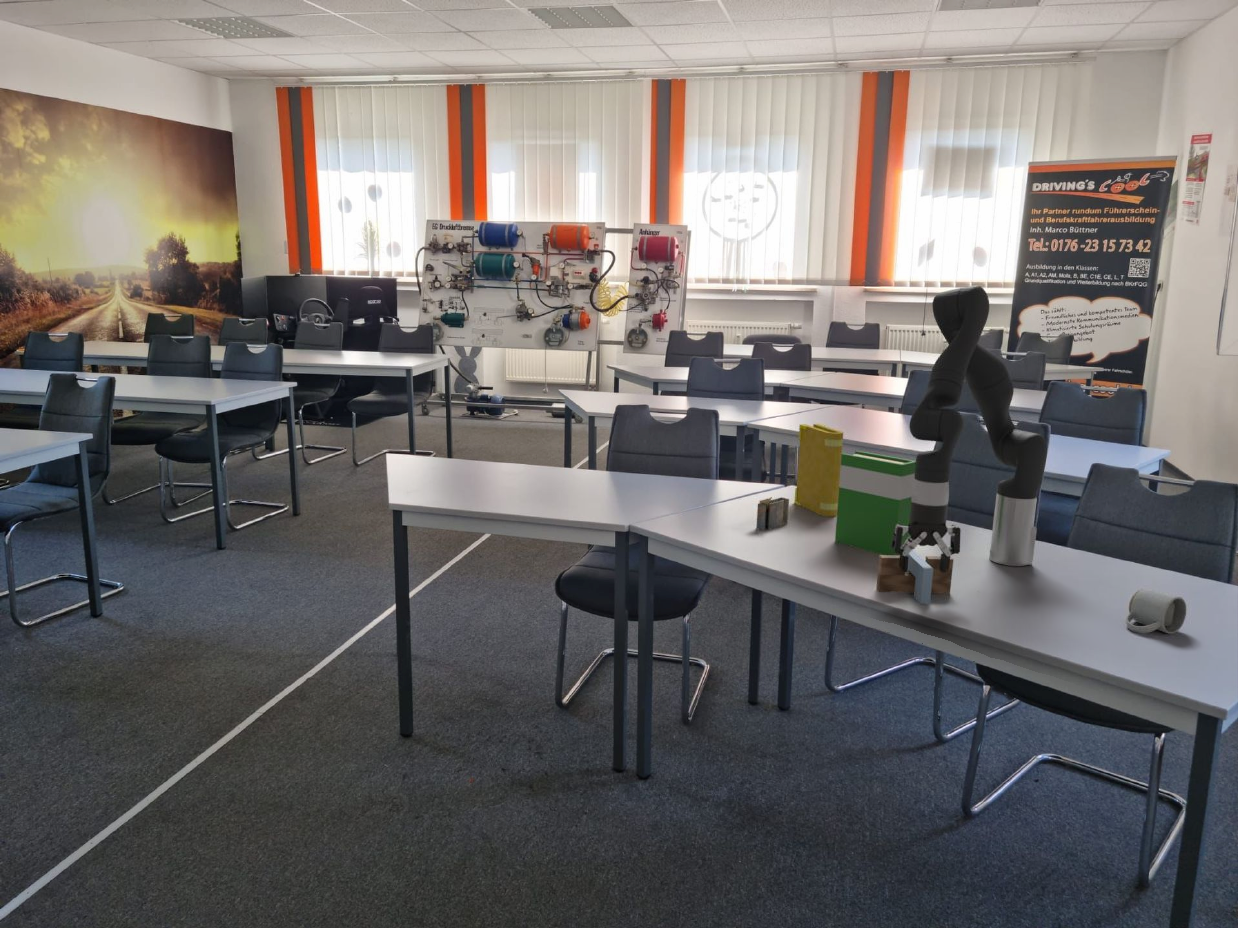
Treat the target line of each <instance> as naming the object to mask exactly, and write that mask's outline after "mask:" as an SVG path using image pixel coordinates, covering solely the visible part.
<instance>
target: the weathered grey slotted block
mask: <svg viewBox="0 0 1238 928" xmlns="http://www.w3.org/2000/svg"><path fill="white" fill-rule="evenodd" d="M758 502H759V503H757V511H756V513H757V514H756V529H757V530H759V531H760V530H761V531H765V530H766V527H767V530H769V529H773V528H777V527H781V526H784V525H788V521H789V507H790V506H789V505H790V504H789V503H790V499H789V498H786V497H783V496H781V497H778V498H777V497H776V498H774V499H773V497H772V496H771V497H769V498H765V499H761V500H759V501H758Z"/></svg>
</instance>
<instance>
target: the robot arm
mask: <svg viewBox="0 0 1238 928" xmlns="http://www.w3.org/2000/svg"><path fill="white" fill-rule="evenodd" d="M932 313H933V316H934V321H935V323H936V324H937V326H938V328H939V331H940V332H941V334H942V336H943V337H944V339H945V340H946V343H947V344H948V346H947V347H946V348H945V349H944V350H943V351H942V353H940V354H939V355H938V358H937V359H936V360H935V362H934V364H933V366H932V368H931V372H930V375H929V380H928V383H927V388H926V391H925V393H924V395H923V396H922V399H921V400H920V402H919V403H918V405H917V406H916V408H914V411H913V412H912V415H911V417H910V420H909V431H910V433H911V436H912V437H913V438H914V439H915V440H918V441H919V440H920V441H929V442H938V443H942V445H941V446H940V448H938V449H934V450H926V451H925V450H924V451H920V452H919V453H918V454H917V455H916V457H915V461H916V465H915V477H914V483H913V488H912V498H911V510H910V522H909V525H908V526H900V525H899V524H896V525H895V526H894V531H893V538H892V545H891V549H892V550H893V551H894V552H895V553H898V554H900V557H899V567H900V568H901V570H902V571H903V572H907V571H908V559H909V556H908V554H909V553H910V552H911V550H915V549H916V548H917V546H920V547H925V546H930V547H935V546H937V547H938V548H939V549H940V551H941V552H942V553H941V554H940V556H941V559H940V571H941V572H946V570H948V569H949V564H950V557H951V556H952V555H955V554H957V555H959V554H960V552H961V528H960V527H959V526H958V525H956V524H955V523H954V524H951V525H950V526H947V518H948V505H949V500H950V497H949V496H950V482H949V481H950V472H951V464H952V459H953V455H954V451H955V448H956V446H957V443H958V441H959V439H960V436H961V434H962V431H963V428H964V419H963V416H962V413H960V411H958V410H955V409H951V408H950V407H954V406H956V405H957V404H958V403H959V401H960V399H961V395H962V391H963V386H964V381H966V384H967V387H968V389H969V391H970V394H971V396H972V398H973V399H974V401H975V404H976V405H977V408H978V410H979V413H980V415H981V417H982V420H983V423H984V426H985V429H986V431H987V434H988V438H989V441H990V445H991V447H992V451H993V453H994V456H995V458H996V459H997V460H998V461H999V462H1000V463H1001V464H1003V465H1004V466H1008V467H1012V468H1016V469H1015V472H1014V473H1015V474H1014V476H1013V477H1012V478H1010V479H1002V480H1001V481H999V482H998V483H997V487H996V498H995V505H994V506H995V507H994V513H993V521H992V522H993V523H992V532H991V540H990V549H989V560H990V561H992V562H994V563H997V564H1000V565H1003V566H1008V567H1009V566H1010V567H1024V566H1027V565H1028V566H1029V565H1033V560H1034V553H1035V546H1036V537H1037V529H1038V528H1037V527H1036V526H1035V515H1036V510H1037V509H1036V508H1037V507H1036V506H1037V501H1038V499H1037V498H1038V494H1039V493H1038V492H1039V490H1040V488H1041V485H1042V483H1043V478H1044V472H1045V467H1046V463H1047V456H1048V444H1047V441H1046V439H1045V438H1044V436H1043V435H1042V434H1039V433H1037V432H1031V431H1026V430H1020V429H1018V428H1017V427H1016V426H1015V424H1014V422H1013V420H1012V418H1011V415H1010V411H1009V410H1010V406H1011V403H1012V400H1013V397H1014V392H1015V391H1014V389H1015V387H1014V383H1013V379H1012V378H1011V376H1010V374H1009V371H1008V368H1007V366H1006V364H1005V362H1004V361H1003V360H1002V359H1001V358H1000V357H998V356H997V355H996V354H995V353H993V352H992V351H990V350H989V349H987V348H986V347H985V346H984V345H981V344H980V343H979V340H980V338H981V336H982V334H983V331H984V328H985V326H986V325H987V320H988V318H989V313H990V300H989V296H988V294H987V292H986V290H985V289H984V288H983V287H982V286H980V285H968V286H964V287H959V288H954V289H950V290H946V291H942V292H939V293H937V294H936V295H935V296H934V298H933V300H932ZM948 408H950V409H948ZM907 531H908V533H909V534H910V536H909V537H908V538H907V539H906V541H905V543H904V544H903V545H902V547H901V541H902V536H904V535H905V533H906V532H907ZM947 533H948V535H949V536H950V540H949V541H950V544H949V547H948V545H947V544H946V543H945V541H944V540H943V538H944V537H945V536H946V534H947Z"/></svg>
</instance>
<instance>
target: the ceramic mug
mask: <svg viewBox="0 0 1238 928" xmlns="http://www.w3.org/2000/svg"><path fill="white" fill-rule="evenodd" d="M1128 604H1129V605H1128V613H1129V614H1127V615H1126V619H1125V622H1126V626H1127V628H1128V629H1129V630H1130V631H1132V632H1134V633H1139V634H1147V633H1151V632H1154V631H1156V630H1157V631H1160V632H1163V633H1165V634H1170V635H1173V634H1176V633H1177V632H1179V631H1180V629H1181V628H1182V626H1183V624H1184V623H1185V620H1186V617H1187V604H1186V601H1185V600H1184V598H1183V597H1180V596H1177V595H1173V594H1169V593H1164V592H1160V591H1156V590H1153V589H1139V590H1138V591H1136V592H1135V593H1134V594H1133V595H1132V596H1131V598H1130V600H1129V603H1128ZM1132 620H1133V621H1135V622H1136V623H1138V624H1141V625H1143V626H1138V625H1134V624H1132V623H1131V621H1132Z"/></svg>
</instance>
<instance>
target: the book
mask: <svg viewBox="0 0 1238 928" xmlns="http://www.w3.org/2000/svg"><path fill="white" fill-rule="evenodd" d="M798 427H799V430H798V441H799V449H798V450H799V451H798V461H797V462H798V465H797V466H798V467H797V479H796V487H795V489H794V491H795V492H794V504H795V503H796V505H798V506H799V505H800V506H799V507H803V508H805V507H806V508H805V509H807V510H809V511H811V512H813V513H814V514H815V513H816V514H817V515H818V516H822V517H837V508H838V495H839V482H840V469H841V456H842V454H843V443H844V442H843V441H844V432H843V431H841V430H839V429H835V428H831V427H828V426H826V425H823V424H820V423H813V425H809V424H803V423H802V424H799V426H798Z"/></svg>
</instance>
